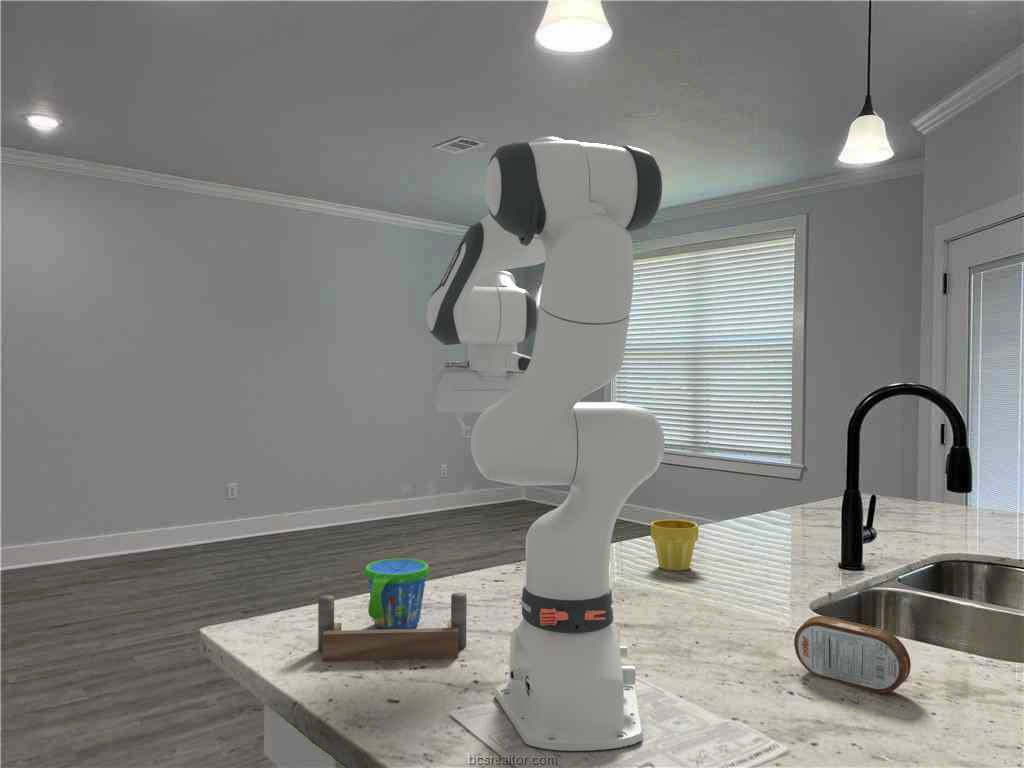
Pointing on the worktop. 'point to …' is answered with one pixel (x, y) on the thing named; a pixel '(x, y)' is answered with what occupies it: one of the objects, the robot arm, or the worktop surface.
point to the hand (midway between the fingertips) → (491, 436)
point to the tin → (852, 654)
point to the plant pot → (674, 543)
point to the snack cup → (396, 592)
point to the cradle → (390, 637)
